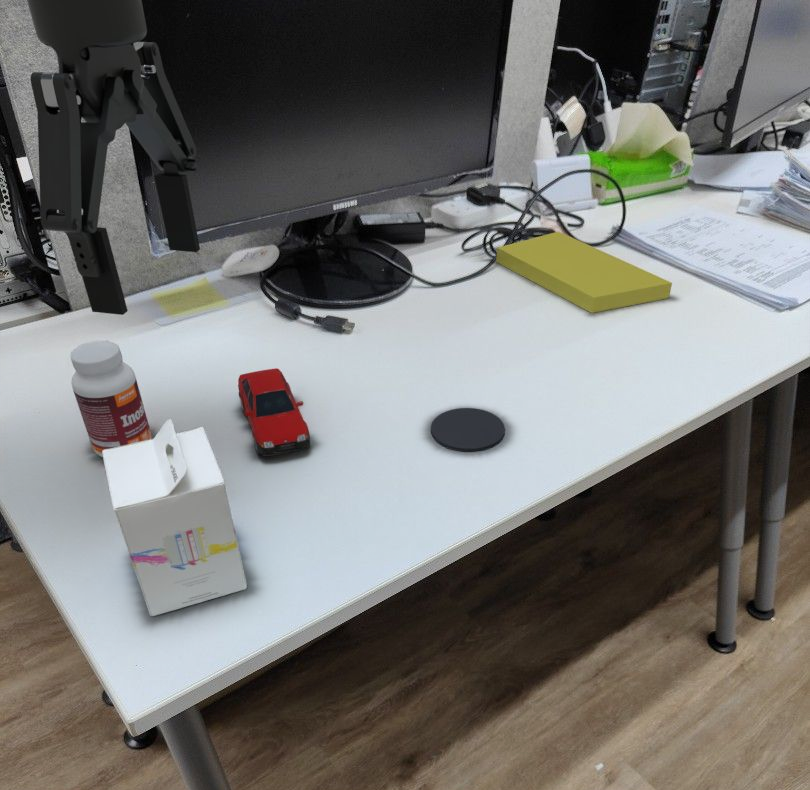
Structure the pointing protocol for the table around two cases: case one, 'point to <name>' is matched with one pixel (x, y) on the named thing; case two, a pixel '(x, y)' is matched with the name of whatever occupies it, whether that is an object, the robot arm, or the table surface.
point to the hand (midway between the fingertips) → (150, 278)
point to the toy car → (272, 413)
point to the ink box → (175, 518)
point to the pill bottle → (108, 396)
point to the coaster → (467, 429)
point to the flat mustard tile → (582, 273)
